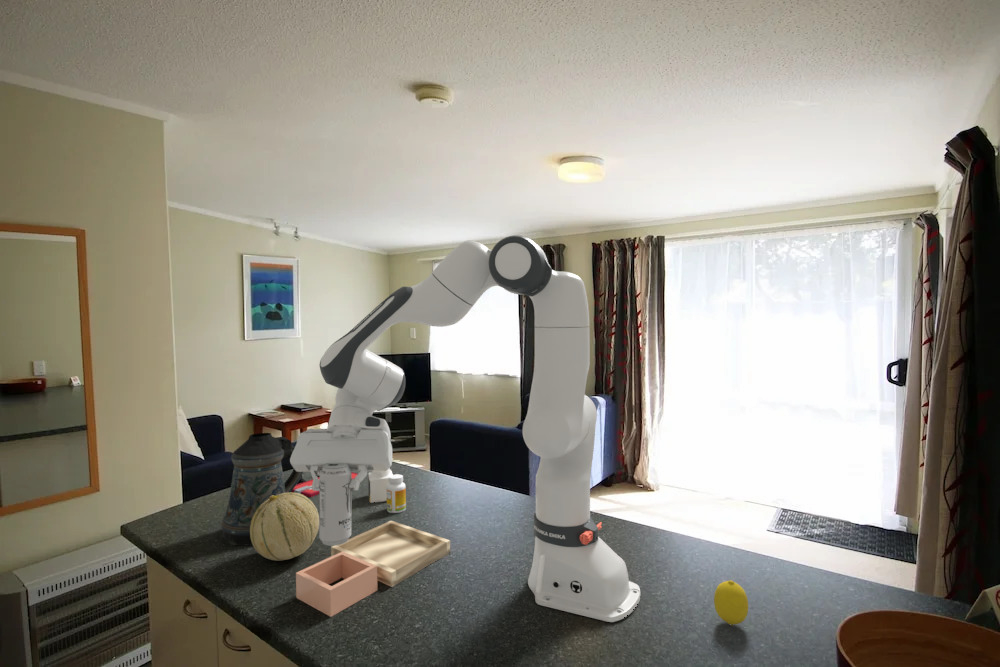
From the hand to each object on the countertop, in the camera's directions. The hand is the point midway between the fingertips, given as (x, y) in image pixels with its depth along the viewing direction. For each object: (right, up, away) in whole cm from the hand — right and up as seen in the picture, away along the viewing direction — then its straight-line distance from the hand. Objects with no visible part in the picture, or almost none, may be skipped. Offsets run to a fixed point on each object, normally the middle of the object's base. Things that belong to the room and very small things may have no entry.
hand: (334, 489), depth 99 cm
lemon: (+73, -21, -9) cm, 77 cm away
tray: (+7, -21, +17) cm, 28 cm away
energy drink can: (0, -10, +1) cm, 10 cm away
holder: (0, -21, +1) cm, 21 cm away
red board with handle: (-28, -20, +66) cm, 74 cm away
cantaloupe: (-17, -21, +17) cm, 32 cm away
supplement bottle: (+3, -20, +45) cm, 49 cm away
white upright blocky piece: (-4, -20, +55) cm, 58 cm away
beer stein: (-30, -21, +32) cm, 48 cm away
